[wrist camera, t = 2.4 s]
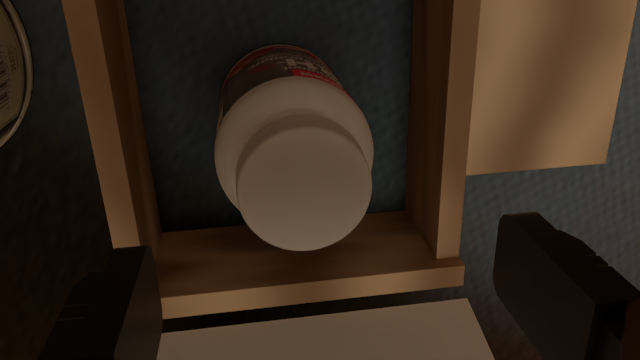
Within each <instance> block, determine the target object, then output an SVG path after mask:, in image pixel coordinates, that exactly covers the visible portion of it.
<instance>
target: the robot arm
mask: <svg viewBox="0 0 640 360" xmlns="http://www.w3.org/2000/svg"><path fill="white" fill-rule="evenodd" d="M493 280H494V286H495V290H496V292H497V295H498V297H499V298H500V300H501V301H502V303H503V304H504V305H505V307H506V308H507V310H508V311H509V312H510V314H511V315H512V316H513V318H514V319H515V321H516V322H517V323H518V325H519V326H520V327H521V329H522V330H523V332H524V333H525V334H526V336H527V337H528V338H529V340H530V341H531V343H532V344H533V345H534V347H535V348H536V349H537V351H538V352H539V354H540V355H541V356H542V358H543V359H544V360H640V291H639V290H638V289H636V288H635V287H634V286H633V285H632V284H631V283H630V282H628V281H627V280H626V279H625V278H624V277H623V276H622V275H620V274H619V273H618V272H617V271H616V270H615V269H614V268H612V267H611V266H608V263H607V262H606V261H604V260H603V259H602V258H601V257H600V256H596V253H595V252H594V251H593V250H592V249H591V248H590V247H588V246H587V245H586V244H585V243H584V242H583V241H582V240H580V239H578V238H575V237H573V236H571V235H569V234H567V233H565V232H563V231H561V230H556V229H555V228H554V227H553V226H552V225H551V224H550V223H549V222H548V221H547V220H545V219H544V218H543V217H542V216H541V215H540V214H539V213H537V212H527V213H516V214H505V215H503V216H502V217H501V219H500V221H499V226H498V235H497V243H496V252H495V260H494V269H493ZM64 305H65V307H64V308H62V310H61V312H60V314H59V317H58V321H56V323H55V325H54V327H53V329H52V331H51V333H50V335H49V337H48V339H47V341H46V343H45V345H44V347H43V349H42V352H41V354H40V356H39V358H38V360H156V359H157V354H158V349H159V344H160V339H161V334H162V325H163V315H162V304H161V298H160V292H159V286H158V281H157V275H156V269H155V263H154V258H153V253H152V249H151V247H150V246H149V245H145V246H133V247H122V248H114V249H113V251H112V253H111V255H110V258H109V260H108V263H107V265H106V267H105V270H104V272H96V273H89V274H88V275H87V276H85V277H84V278H83V279H82V280H81V281H80V282H79V283H78V284H76V285H75V286H74V287H73V288H72V290H71V292H70V294H69V296H68V298H67V300H66V302H65V304H64Z"/></svg>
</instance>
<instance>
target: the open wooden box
mask: <svg viewBox="0 0 640 360" xmlns="http://www.w3.org/2000/svg"><path fill="white" fill-rule="evenodd" d="M61 1H62V5H63V10H64V15H65V20H66V24H67V29H68V34H69V39H70V43H71V48H72V53H73V58H74V63H75V67H76V72H77V77H78V82H79V86H80V91H81V96H82V101H83V105H84V110H85V115H86V120H87V125H88V129H89V134H90V139H91V144H92V148H93V153H94V158H95V163H96V167H97V172H98V177H99V182H100V187H101V191H102V196H103V201H104V206H105V210H106V215H107V220H108V225H109V229H110V234H111V239H112V244H113V249H114V248H122V247H133V246H145V245H149V246H150V247H151V249H152V253H153V258H154V263H155V269H156V275H157V281H158V286H159V292H160V298H161V304H162V315H163V319H169V318H178V317H187V316H195V315H204V314H213V313H222V312H231V311H240V310H249V309H258V308H267V307H276V306H285V305H294V304H302V303H311V302H320V301H329V300H338V299H347V298H356V297H365V296H374V295H383V294H392V293H401V292H409V291H418V290H427V289H436V288H445V287H454V286H463V281H464V271H465V265H464V263H463V262H462V261H461V259H460V258H459V248H460V236H461V225H462V213H463V202H464V190H465V179H466V167H467V156H468V145H469V133H470V122H471V110H472V99H473V87H474V76H475V64H476V53H477V41H478V30H479V18H480V7H481V0H413V19H412V45H411V70H410V96H409V121H408V147H407V172H406V198H405V210H399V211H388V212H378V213H367V214H365V215H364V217H363V218H362V220H361V221H360V222H359V224H358V225H357V226H356V227H355V228H354V229H353V230H352V231H351V232H350V233H349V234H348V235H346V236H345V237H344V238H342V239H341V240H339V241H337V242H335V243H334V244H331V245H329V246H326V247H323V248H320V249H316V250H309V251H293V250H287V249H282V248H279V247H276V246H273V245H271V244H269V243H268V242H266V241H264V240H263V239H261V238H260V237H259V236H258V235H256V234H255V233H254V232H253V231H252V230H251V228H250V227H249V226H248V225H238V226H228V227H217V228H206V229H196V230H185V231H174V232H164V233H162V230H161V224H160V218H159V212H158V206H157V200H156V194H155V188H154V182H153V176H152V170H151V164H150V158H149V152H148V145H147V139H146V133H145V127H144V121H143V115H142V109H141V103H140V97H139V91H138V85H137V79H136V73H135V67H134V61H133V55H132V49H131V43H130V37H129V31H128V25H127V19H126V13H125V7H124V1H123V0H61Z"/></svg>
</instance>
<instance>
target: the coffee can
mask: <svg viewBox="0 0 640 360" xmlns="http://www.w3.org/2000/svg"><path fill="white" fill-rule="evenodd" d="M32 89H33V64H32V57H31V51H30V46H29V42H28V39H27V36H26V33H25V30H24V27H23V24H22V22H21V20H20V18H19V16H18V14H17V12H16V10H15V8H14V6H13V5H12V3H11V2H10V0H0V147H1V146H2V145H3V144H4V143H5V142H6V141H7V140H8V139H9V138H10V137H11V136H12V135H13V134H14V132H15V131H16V129H17V128H18V126H19V125H20V123H21V121H22V119H23V117H24V115H25V113H26V110H27V108H28V105H29V102H30V98H31V92H32Z"/></svg>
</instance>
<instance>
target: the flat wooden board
mask: <svg viewBox="0 0 640 360" xmlns="http://www.w3.org/2000/svg"><path fill="white" fill-rule="evenodd" d="M636 5H637V0H481V7H480V18H479V30H478V41H477V53H476V64H475V76H474V87H473V99H472V110H471V122H470V133H469V145H468V156H467V167H466V175H476V174H487V173H499V172H510V171H522V170H533V169H545V168H556V167H568V166H579V165H591V164H602V163H605V162H606V157H607V152H608V147H609V142H610V137H611V132H612V127H613V122H614V116H615V111H616V106H617V101H618V96H619V91H620V86H621V81H622V76H623V71H624V66H625V61H626V56H627V51H628V46H629V41H630V36H631V31H632V25H633V20H634V15H635V10H636Z"/></svg>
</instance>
